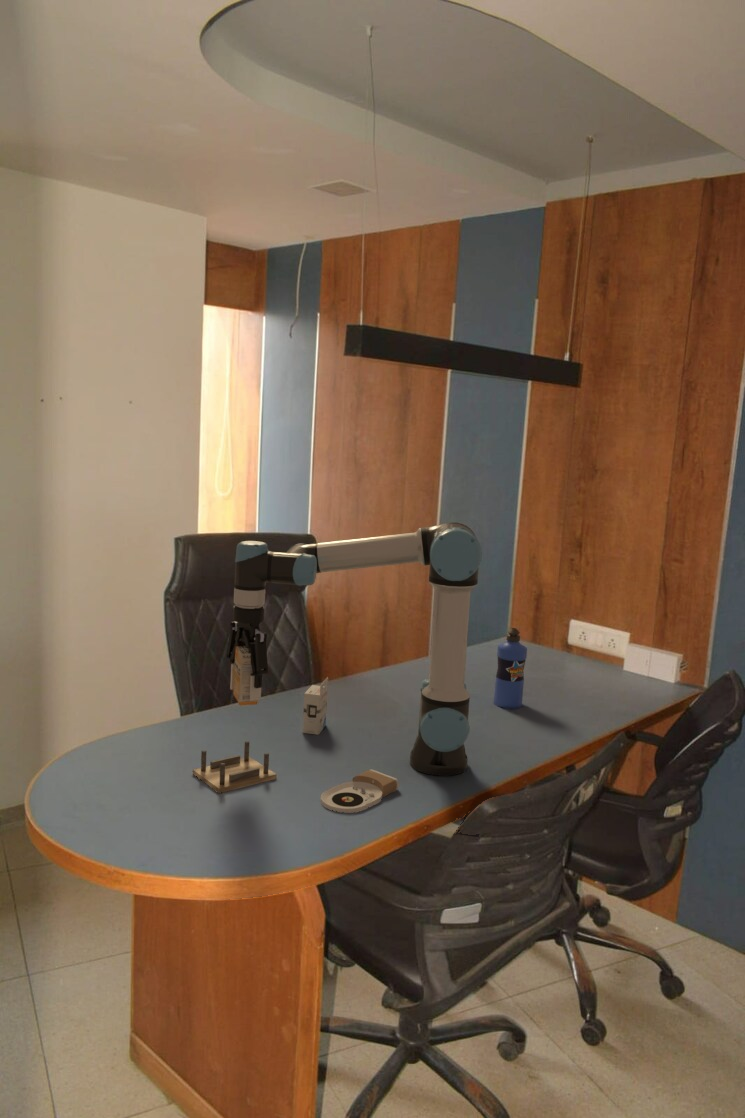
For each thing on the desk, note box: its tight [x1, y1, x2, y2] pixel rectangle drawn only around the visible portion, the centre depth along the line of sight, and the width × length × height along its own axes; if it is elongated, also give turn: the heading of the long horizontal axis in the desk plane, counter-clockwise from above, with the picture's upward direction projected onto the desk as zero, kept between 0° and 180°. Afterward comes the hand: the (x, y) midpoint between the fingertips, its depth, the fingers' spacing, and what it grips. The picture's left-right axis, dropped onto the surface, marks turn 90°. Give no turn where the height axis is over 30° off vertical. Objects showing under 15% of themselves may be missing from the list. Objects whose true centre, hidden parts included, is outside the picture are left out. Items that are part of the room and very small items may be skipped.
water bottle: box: [493, 627, 528, 710], centre depth 284 cm, size 9×9×25 cm
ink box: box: [302, 676, 329, 735], centre depth 253 cm, size 9×5×15 cm, turn 168°
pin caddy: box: [192, 740, 277, 794], centre depth 218 cm, size 13×16×6 cm
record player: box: [320, 769, 400, 814], centre depth 211 cm, size 12×3×20 cm
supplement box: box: [232, 645, 259, 706], centre depth 218 cm, size 8×5×13 cm, turn 19°
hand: (245, 694), depth 219 cm, fingers closed on supplement box, 9 cm apart
